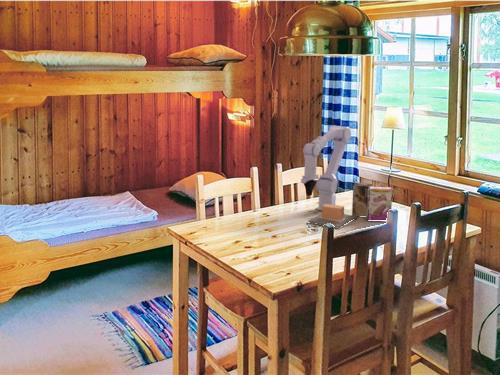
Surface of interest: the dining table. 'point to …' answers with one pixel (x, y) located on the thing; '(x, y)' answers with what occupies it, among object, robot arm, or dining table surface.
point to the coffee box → (360, 199)
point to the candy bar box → (379, 202)
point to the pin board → (336, 223)
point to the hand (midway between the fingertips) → (309, 195)
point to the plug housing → (332, 212)
